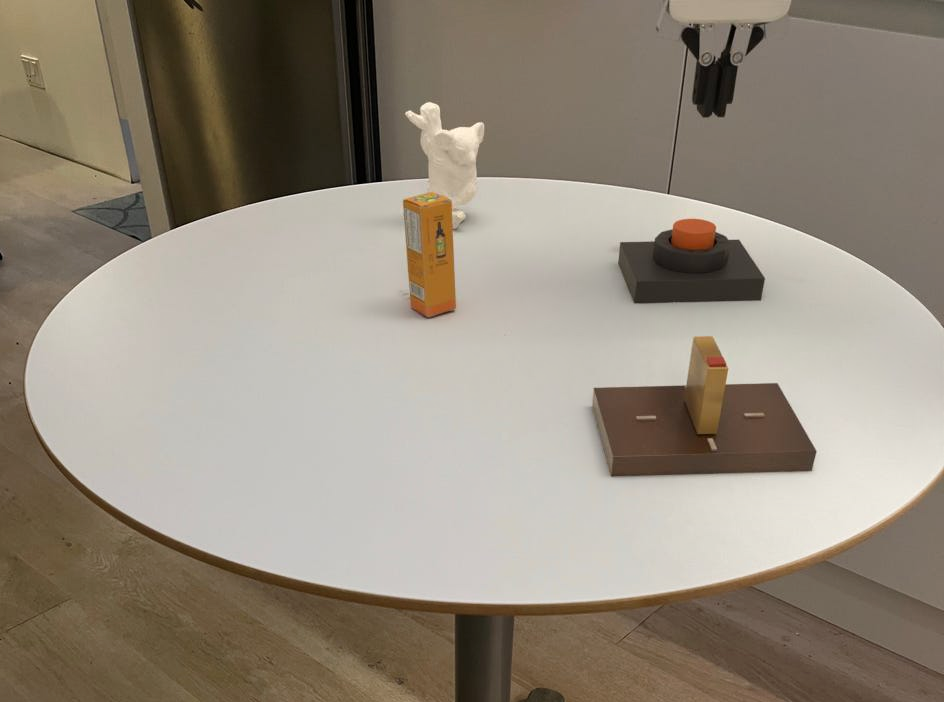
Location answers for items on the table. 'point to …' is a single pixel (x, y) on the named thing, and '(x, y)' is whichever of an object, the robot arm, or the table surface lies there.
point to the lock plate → (683, 450)
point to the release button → (693, 234)
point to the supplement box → (430, 253)
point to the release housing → (689, 271)
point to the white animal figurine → (449, 157)
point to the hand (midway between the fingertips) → (710, 112)
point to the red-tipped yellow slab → (705, 384)
